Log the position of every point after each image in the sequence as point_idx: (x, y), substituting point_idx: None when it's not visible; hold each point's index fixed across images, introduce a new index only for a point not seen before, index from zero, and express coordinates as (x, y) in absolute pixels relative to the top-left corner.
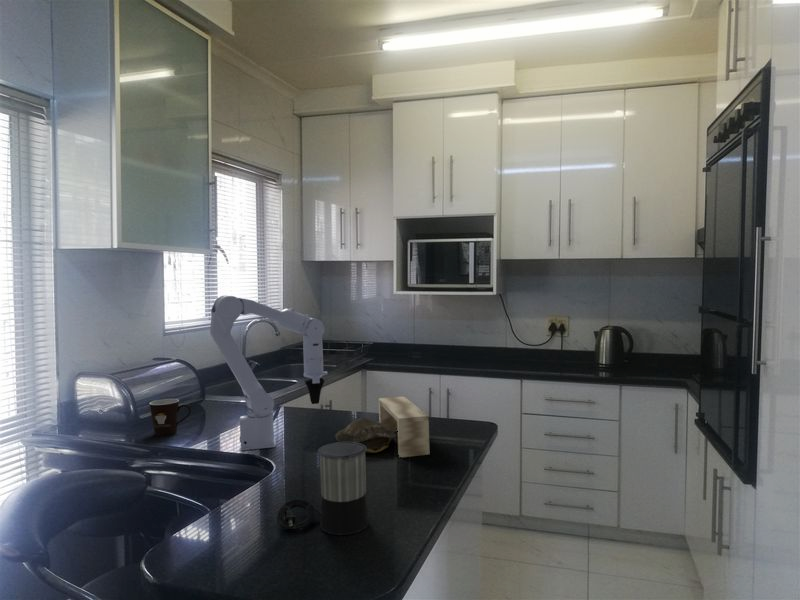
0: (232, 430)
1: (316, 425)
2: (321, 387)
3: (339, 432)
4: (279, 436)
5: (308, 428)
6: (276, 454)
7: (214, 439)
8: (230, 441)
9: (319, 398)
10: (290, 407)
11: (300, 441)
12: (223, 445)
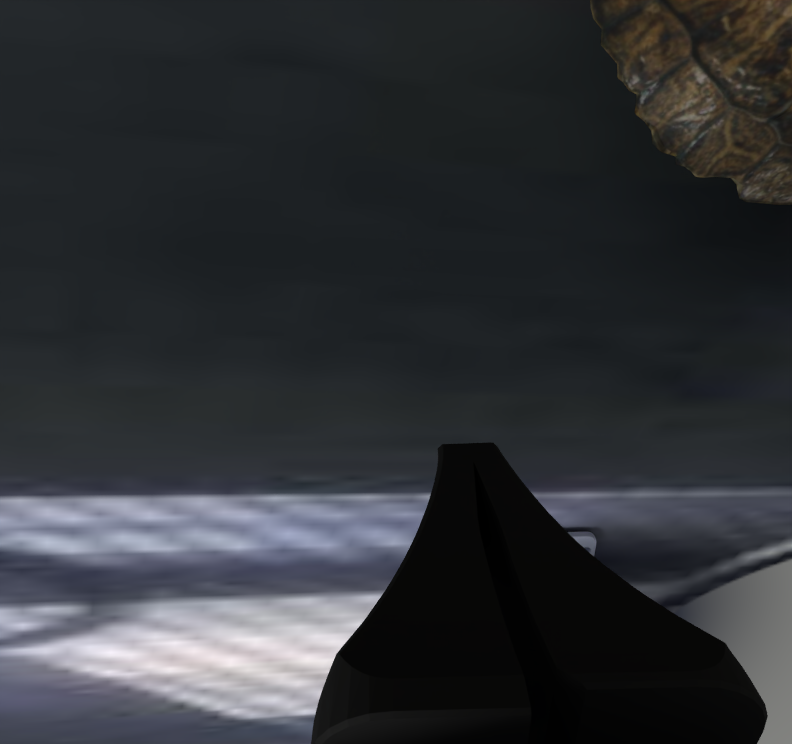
0: (190, 689)
1: (121, 302)
2: (640, 592)
3: (768, 165)
4: (366, 515)
5: (205, 360)
6: (716, 522)
7: None
8: None
9: (513, 473)
10: None
11: (524, 414)
12: None
